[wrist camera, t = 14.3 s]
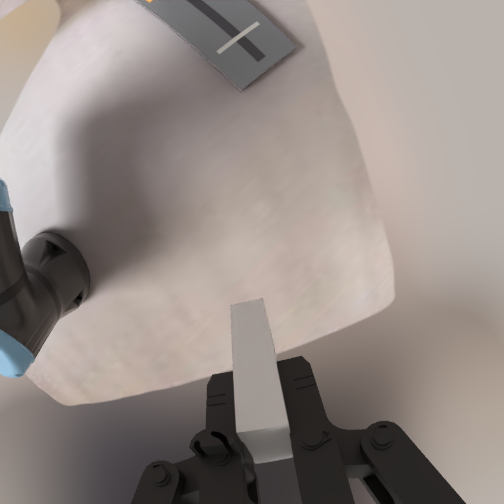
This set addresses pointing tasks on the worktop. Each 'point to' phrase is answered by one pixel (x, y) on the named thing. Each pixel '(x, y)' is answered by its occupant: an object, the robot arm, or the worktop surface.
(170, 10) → the fader console
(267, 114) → the worktop surface
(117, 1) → the worktop surface
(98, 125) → the worktop surface
